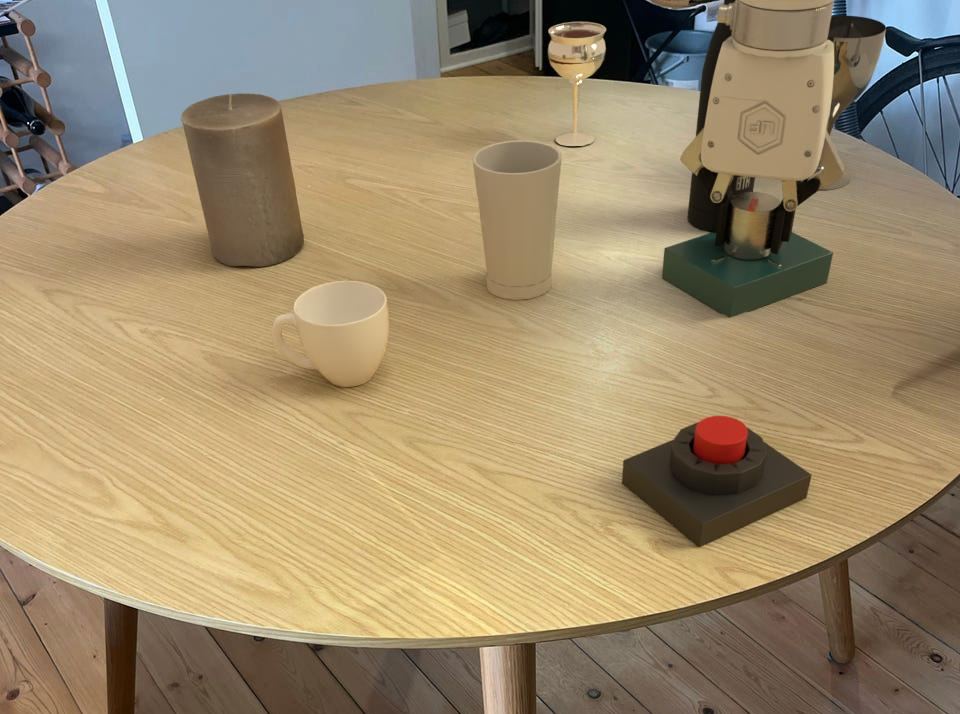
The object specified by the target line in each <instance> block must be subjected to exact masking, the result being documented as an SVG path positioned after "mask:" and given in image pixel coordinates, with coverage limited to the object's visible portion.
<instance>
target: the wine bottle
mask: <svg viewBox="0 0 960 714" xmlns="http://www.w3.org/2000/svg"><path fill="white" fill-rule="evenodd" d="M734 1H735V0H723V5H729V3H734ZM731 35H732V30H730V26H727V25H726V23H718V22H717V23H716V26H715V28H714V30H713V33H712V35H711V37H710V41H709V44H708V48H707V52H706V54H705V58H704V64H703V67H702V70H701V81H700V90H699V91H700V92H699V100H698V108H697V109H698V110H697V119H696V120H697V121H696V128H695V129H696V130H695V137H696V136H697V135H698V134H699V133H700V131H701V130H702V129H703V128H704V127H705V120H706V114H707V108H708V102H709V97H710V91H711V86H712V81H713V77H714V72H715V68H716V64H717V60H718V56H719V53H720V50H721V47H722V44H723V42H724V41H726V40H727V39H728V38H729V37H731ZM755 182H756V177H747V176H738V175H734V177H733V179H732V182H731V185H730V187H731V189H732V192H733V194H732V195H734V196H735V195H737V194H740V193H745V192H754V188H755ZM688 199H689V201H688V206H687V207H688V209H687V218H686V219H687V221H688V223H689V224H690V225H691V226H693V227H695V228H697V229H699V230H702V231H707V232H711V222H712V214H713V206H714V202H713V201H712V200H711V198H710V194H709V192H708V191H707V190H706V189H705V187H704V186H703V185H702V183H701V182H700V181H699V179H698V177H697V175H695V174H693V173H692V172H691V179H690V189H689V198H688Z"/></svg>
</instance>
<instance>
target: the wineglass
mask: <svg viewBox="0 0 960 714" xmlns="http://www.w3.org/2000/svg"><path fill="white" fill-rule="evenodd" d="M606 32H607V28H606V27H605V26H604V25H602V24H600V23H596V22H590V21H570V22H563V23H559V24H556V25H553V26H551V27H550V28H549V29H548V34H549V36H550V41H549V43H548V46H547V59H548V60H549V64H550V67H552V68H553V69H554V71H555V72H556V73H557V74H558V75H559V76H560V77H562V78H563V79H566V80H568V82H569V84H570V85H572V126H573V128H572V129H573V130H572V131H573V132H566V133H562V134H563V135H562V134H560V135H561V136H559V135H558V136H559V138H558V140H559V141H560V142H562V143H566V144H577V143H579V144H581V143H585V142H588V141H589V139H590V138H591V137H590V135H591V134H589V133H584V132H579V131H577V127H578V112H579V95H580V85H581V84H582V83H583V82H584V80H585V79H587V78H589V77H592V76H593V75H594V74H595V73H596V72H597V71H598V69H600V67H601V66H602V65H603V62H604V61H605V58H606V52H607V48H606V41H605V39H604V37H605V35H606ZM588 134H589V135H588Z"/></svg>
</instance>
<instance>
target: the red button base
mask: <svg viewBox="0 0 960 714" xmlns="http://www.w3.org/2000/svg"><path fill="white" fill-rule="evenodd" d="M699 422H700V421H698V422H695V423H693V424H690V425H688V426H685V427H683V428H680V430H679V431H678V432H677V434H676V436H675V437H674V438H673V439H671V440H669V441H666V442H664V443H662V444H659V445H657V446H655V447H652V448H650V449H647V450H644V451H642V452H640V453H637V454H635V455H632V456H630V457H627V458H625V459H623V461H622V474H621V475H622V476H621V484H622V485H623V486H624V487H626V489H628V490H629V491H631V493H632V494H634V495H635V496H636V497H638V499H640V501H642V502H643V503H644V504H646V505H647V506H648V507H649V508H651V509H652V510H653V511H654V512H656V513H657V515H659V516H660V517H661V518H662V519H664V520H665V521H666V522H668V523H669V525H671V526H672V527H673V528H674V529H676V530H677V531H678V532H679V533H681V534H682V535H683V536H684V537H686V539H688V540H689V541H690V542H691V543H693V544H694V545H695V546H696V547H697V548H702V547H704V546H706V545H709V544H711V543H713V542H714V541H717V540H719V539H721V538H723V537H725V536H727V535H730V534H732V533H734V532H736V531H738V530H741V529H743V528H746V527H748V526H749V525H751V524H753V523H756V522H758V521H760V520H762V519H765V518H767V517H768V516H771V515H773V514H775V513H778V512H779V511H782V510H784V509H786V508H789V507H791V506H793V505H795V504H797V503H799V502H801V501H803V500H806V499H807V497H808V492H809V488H810V485H811V481H812V480H811V479H812V475H813V474H812V473H810V472H809V471H807V470H806V469H804V468H803V467H801V466H800V465H798V464H797V463H796V462H794V461H793V460H791V459H790V458H788V457H787V456H786V455H784V454H782V453H781V452H780V451H778V450H777V449H775V448H774V447H773V446H771V445H770V444H768V443H767V442H765V441H764V439H763V437H762V436H761V435H759V434H757V432H754V431H753V430H752V429H750V428H749V427H747V430H748V435H747V441H746V447H745V453H744V455H743V457H742V458H741V459H740V460H739V461H737V462H735V463H732V464H714V463H711V462H707V461H703V460H701V459H699V458H698V457H697V456H696V455H695V453H694V450H693V446H694V438H695V430H696V426H697V424H698V423H699Z"/></svg>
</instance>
